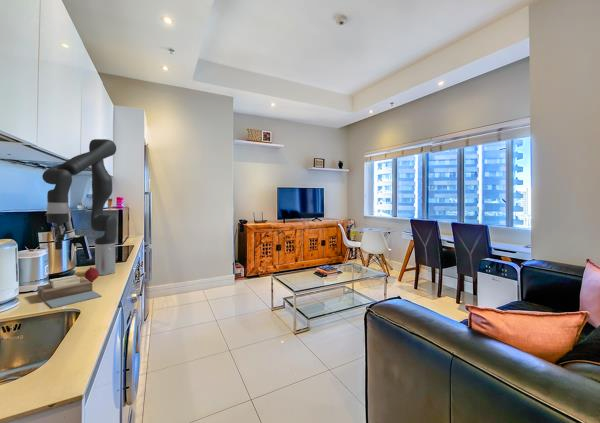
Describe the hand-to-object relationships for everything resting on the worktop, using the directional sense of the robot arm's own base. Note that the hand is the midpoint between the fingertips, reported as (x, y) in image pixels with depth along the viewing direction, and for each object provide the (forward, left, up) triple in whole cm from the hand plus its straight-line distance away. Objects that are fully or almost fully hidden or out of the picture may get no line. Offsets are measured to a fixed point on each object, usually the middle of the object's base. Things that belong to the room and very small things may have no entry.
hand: (58, 249), depth 123 cm
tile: (+9, 0, -15) cm, 17 cm away
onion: (-1, +13, -19) cm, 23 cm away
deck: (+10, 0, -19) cm, 21 cm away
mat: (+21, 0, -19) cm, 28 cm away
